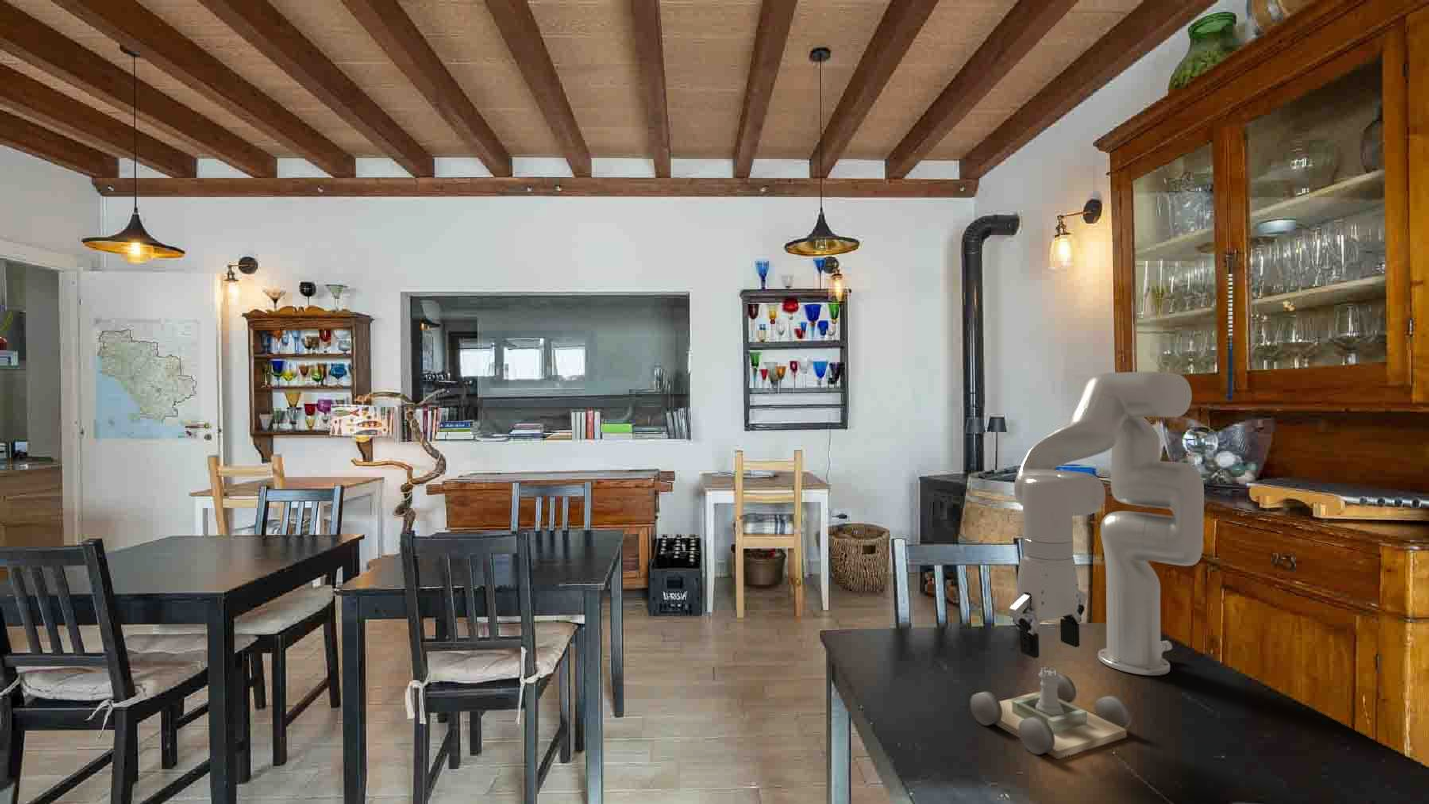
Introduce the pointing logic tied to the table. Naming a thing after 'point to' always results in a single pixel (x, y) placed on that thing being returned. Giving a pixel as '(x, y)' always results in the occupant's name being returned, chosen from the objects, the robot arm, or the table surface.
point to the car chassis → (1055, 720)
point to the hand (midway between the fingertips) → (1050, 649)
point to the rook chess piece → (1049, 693)
